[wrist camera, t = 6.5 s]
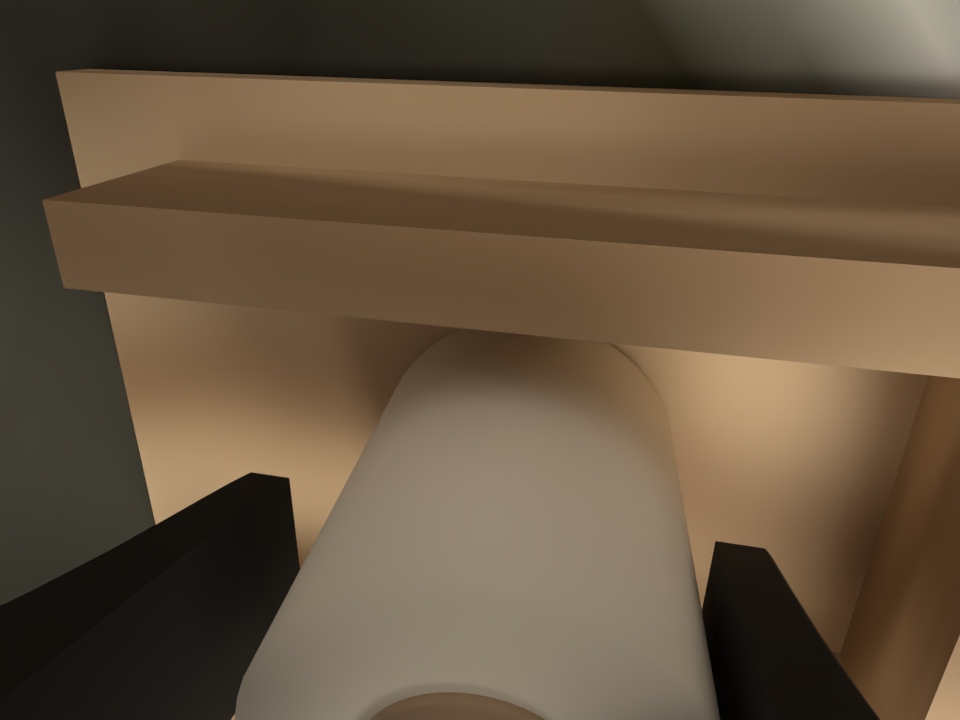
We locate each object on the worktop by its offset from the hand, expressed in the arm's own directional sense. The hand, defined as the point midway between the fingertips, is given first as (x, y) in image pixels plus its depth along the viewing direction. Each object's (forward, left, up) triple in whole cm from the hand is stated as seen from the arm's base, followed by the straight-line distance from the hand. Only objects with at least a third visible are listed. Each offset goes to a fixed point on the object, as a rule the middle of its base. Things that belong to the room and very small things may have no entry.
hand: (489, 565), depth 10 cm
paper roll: (0, 0, -3) cm, 3 cm away
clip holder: (0, 0, -4) cm, 4 cm away
